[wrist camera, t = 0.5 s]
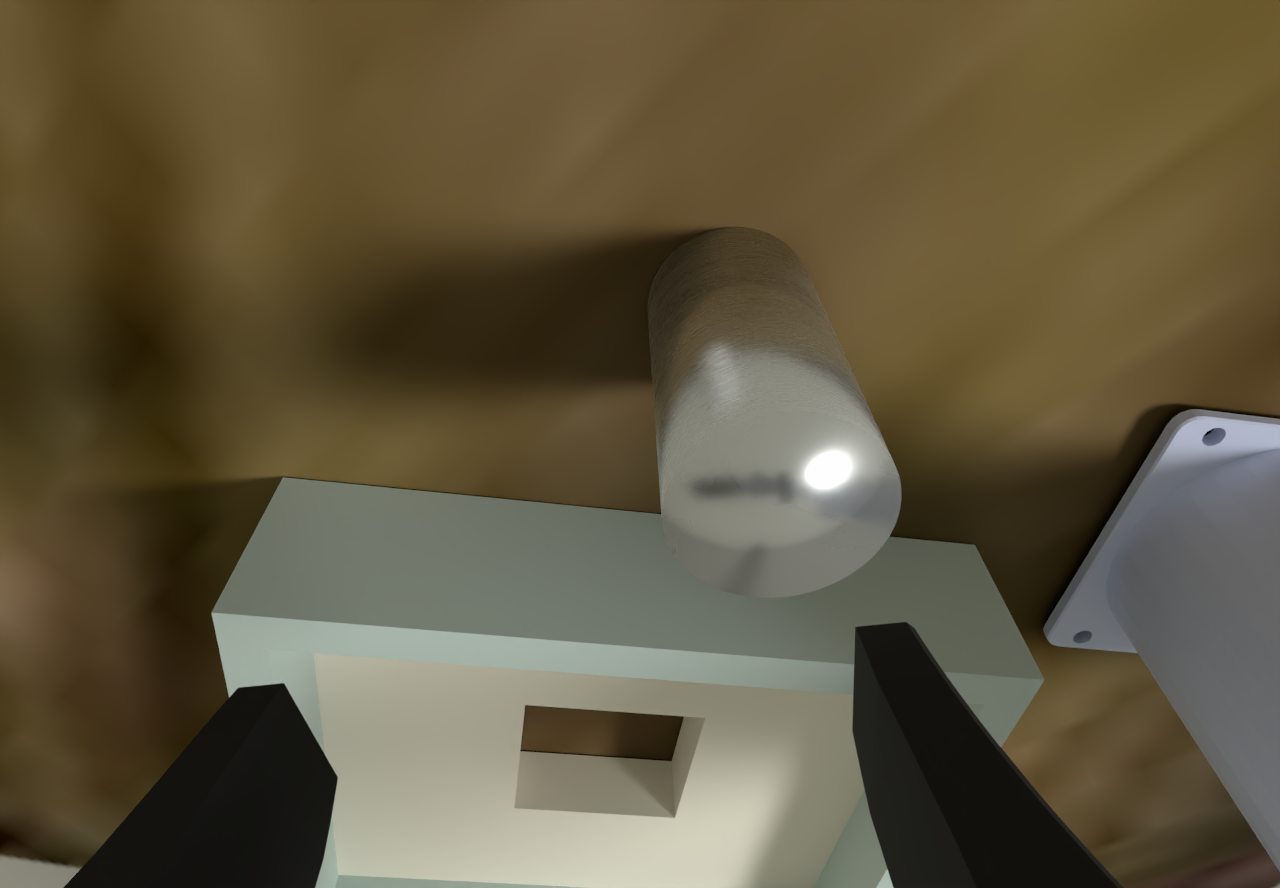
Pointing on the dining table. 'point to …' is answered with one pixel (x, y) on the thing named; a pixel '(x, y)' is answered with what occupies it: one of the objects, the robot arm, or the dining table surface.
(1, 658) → the dining table surface
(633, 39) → the dining table surface
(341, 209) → the dining table surface
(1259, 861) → the dining table surface
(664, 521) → the peg
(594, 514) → the caddy
